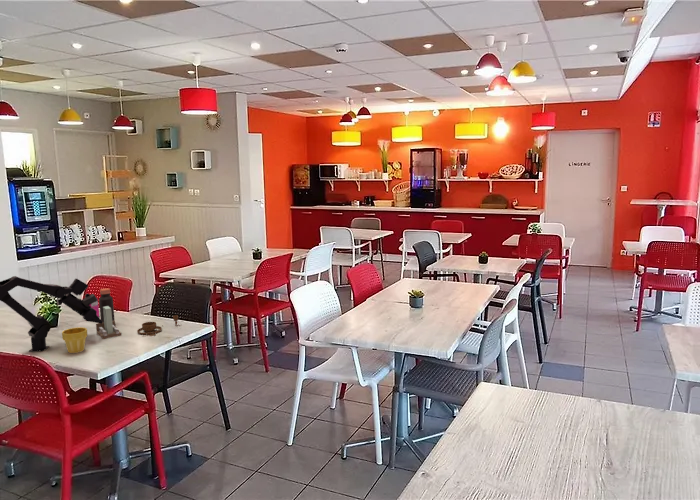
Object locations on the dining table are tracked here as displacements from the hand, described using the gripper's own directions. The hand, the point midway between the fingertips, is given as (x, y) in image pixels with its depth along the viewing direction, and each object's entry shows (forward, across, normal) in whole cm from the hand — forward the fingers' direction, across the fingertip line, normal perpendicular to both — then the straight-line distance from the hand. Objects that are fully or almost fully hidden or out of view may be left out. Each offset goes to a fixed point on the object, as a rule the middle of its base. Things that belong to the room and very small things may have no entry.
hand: (99, 320), depth 262 cm
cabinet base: (+8, 0, +3) cm, 9 cm away
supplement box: (+8, +39, +3) cm, 40 cm away
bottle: (+11, +18, 0) cm, 21 cm away
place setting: (+24, -10, -12) cm, 28 cm away
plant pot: (-4, -16, +16) cm, 23 cm away
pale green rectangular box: (+8, 0, +2) cm, 8 cm away
